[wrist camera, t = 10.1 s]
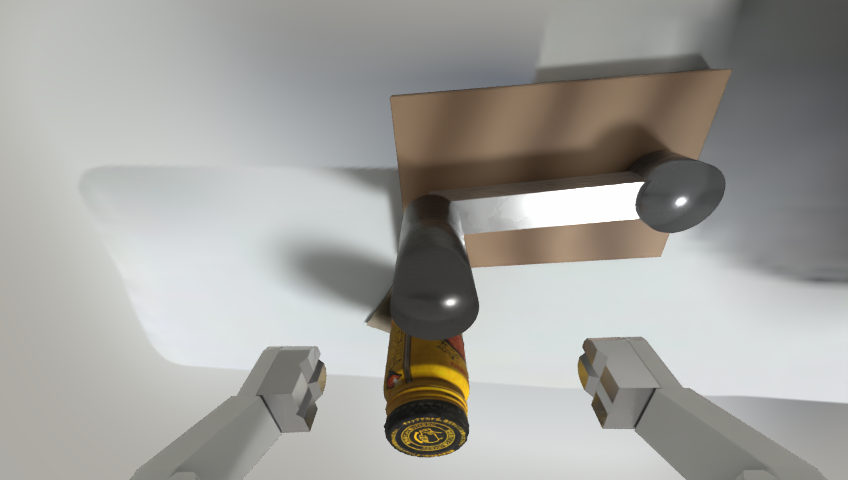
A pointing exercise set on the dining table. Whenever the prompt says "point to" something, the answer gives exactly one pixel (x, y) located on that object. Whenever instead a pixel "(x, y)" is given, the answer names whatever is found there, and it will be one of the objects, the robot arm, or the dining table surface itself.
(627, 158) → the board
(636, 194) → the lever
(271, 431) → the robot arm
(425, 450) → the condiment
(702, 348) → the dining table surface
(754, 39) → the dining table surface
